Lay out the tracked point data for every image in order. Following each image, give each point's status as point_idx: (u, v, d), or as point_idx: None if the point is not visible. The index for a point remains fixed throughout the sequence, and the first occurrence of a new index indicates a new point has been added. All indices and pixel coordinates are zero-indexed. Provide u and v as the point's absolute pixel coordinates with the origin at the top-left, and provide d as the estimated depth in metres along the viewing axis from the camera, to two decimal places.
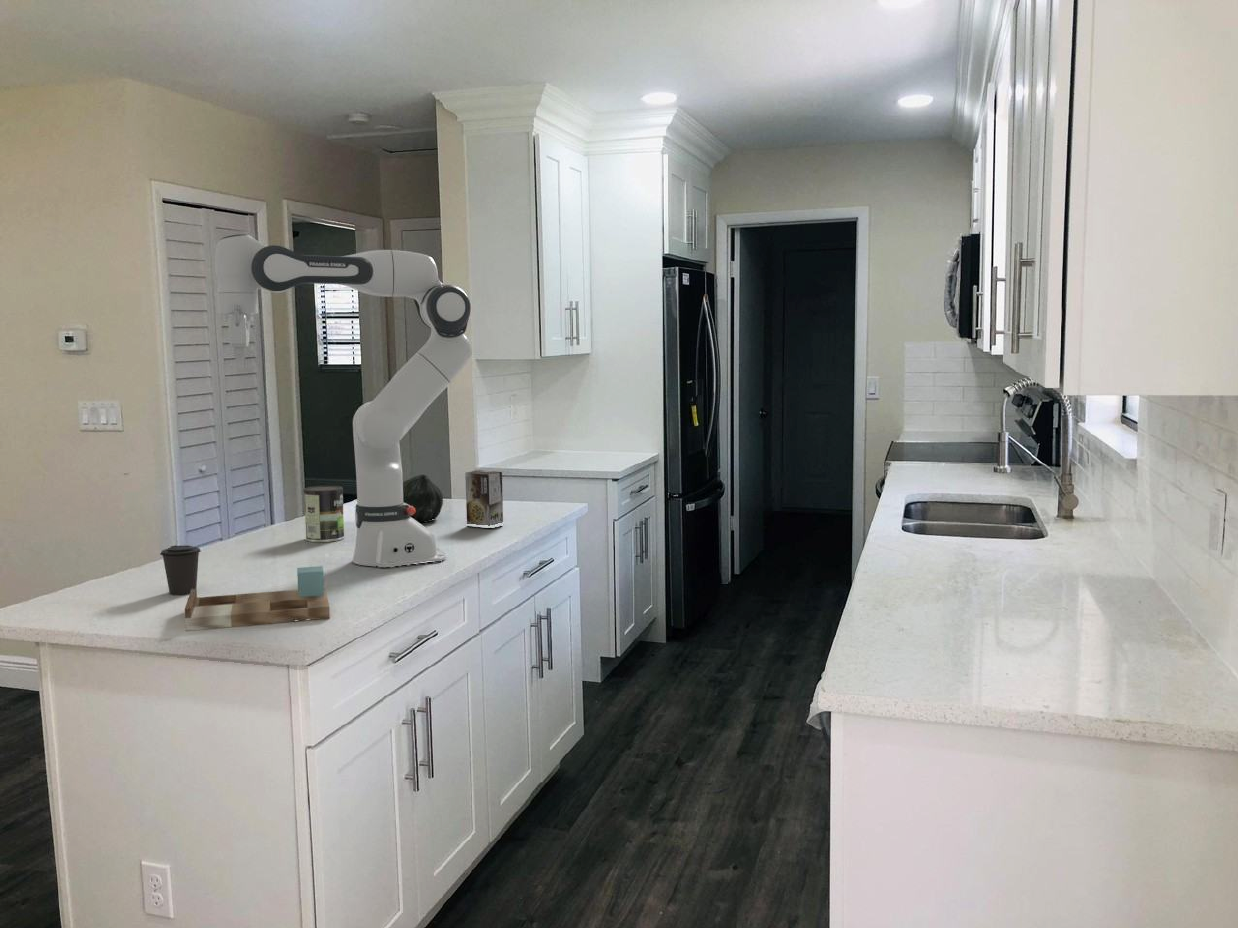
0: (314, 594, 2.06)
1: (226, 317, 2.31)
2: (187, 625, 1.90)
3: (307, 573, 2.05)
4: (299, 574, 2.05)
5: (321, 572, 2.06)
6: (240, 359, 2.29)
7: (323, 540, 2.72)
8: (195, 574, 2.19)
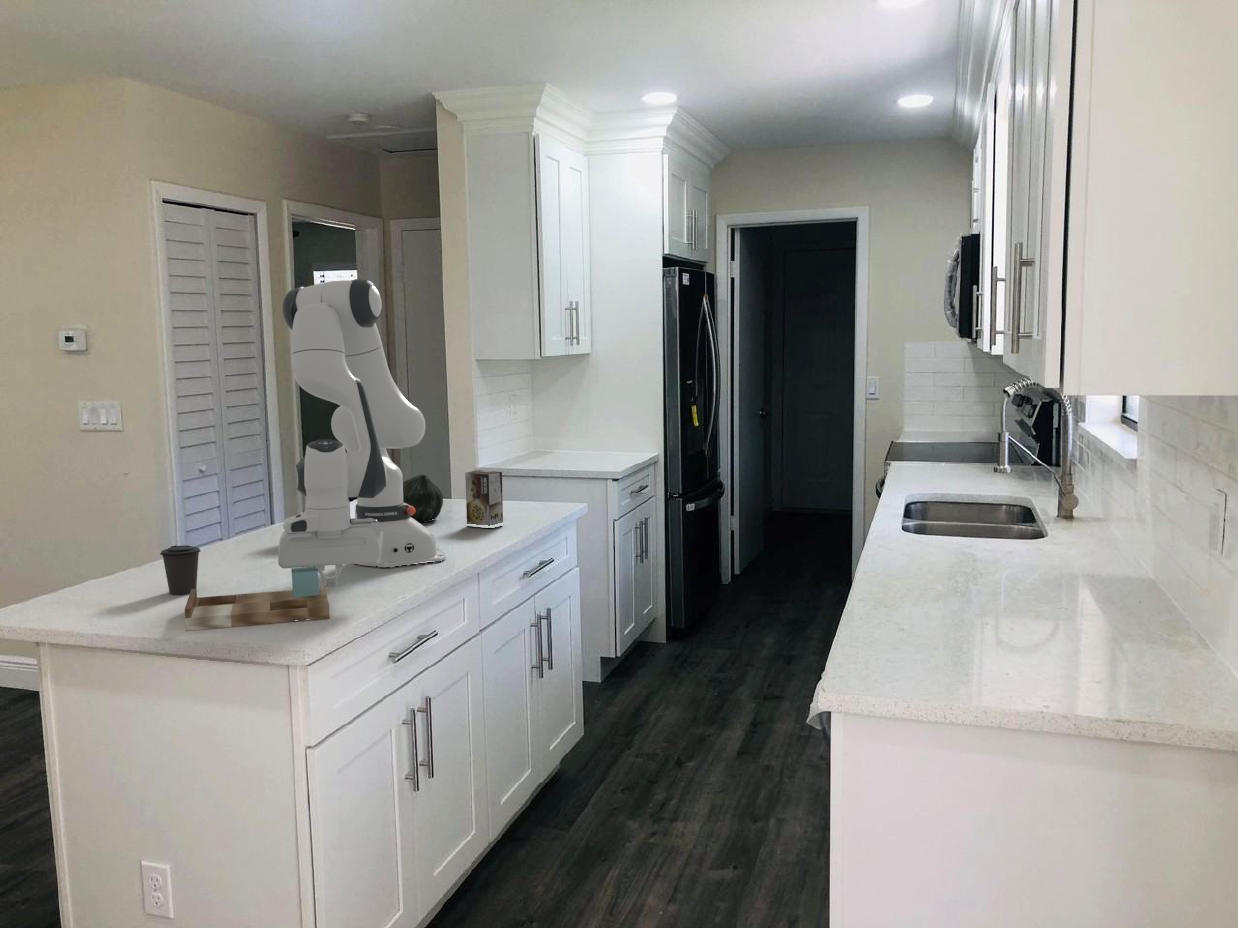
0: (309, 594, 2.06)
1: (338, 533, 2.06)
2: (187, 625, 1.90)
3: (301, 573, 2.05)
4: (293, 575, 2.04)
5: (315, 572, 2.06)
6: None
7: None
8: (195, 574, 2.19)
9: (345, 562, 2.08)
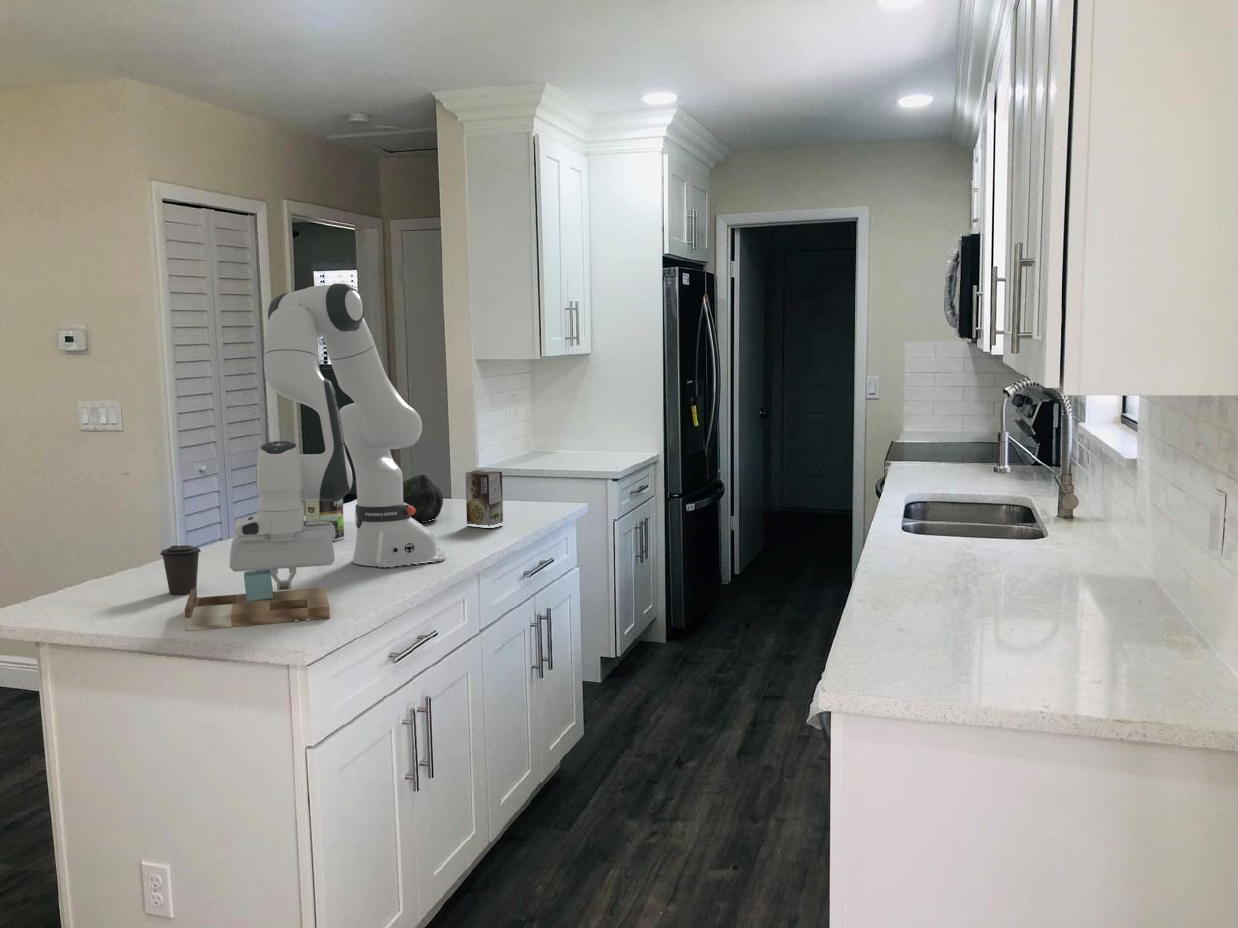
0: (262, 597, 2.03)
1: (291, 536, 2.03)
2: (187, 625, 1.90)
3: (254, 577, 2.02)
4: (245, 578, 2.01)
5: (268, 575, 2.03)
6: None
7: None
8: (195, 574, 2.19)
9: (298, 565, 2.05)
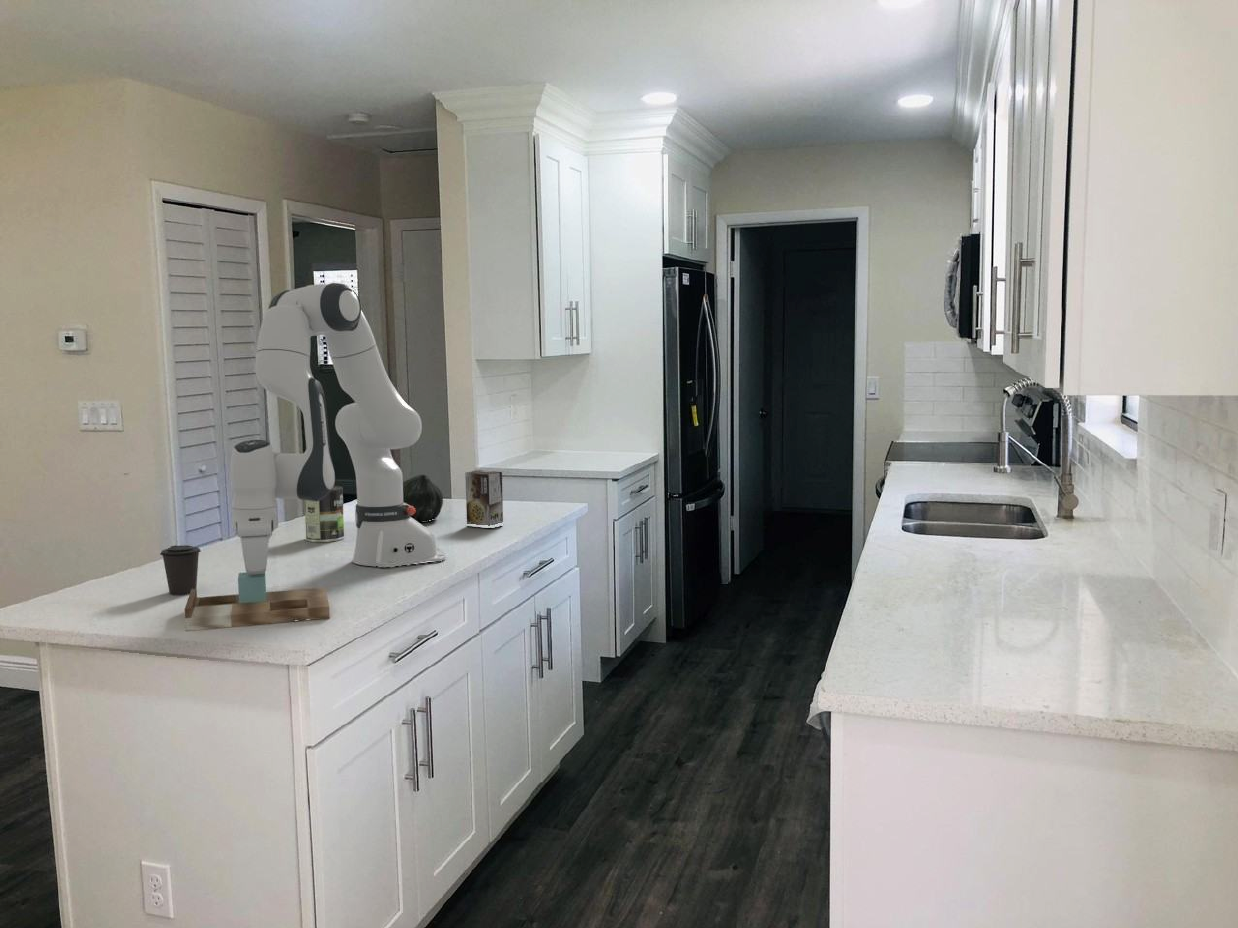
0: (255, 600, 2.02)
1: None
2: (187, 625, 1.90)
3: (248, 579, 2.01)
4: (239, 580, 2.00)
5: (262, 577, 2.02)
6: None
7: (323, 540, 2.72)
8: (195, 574, 2.19)
9: None
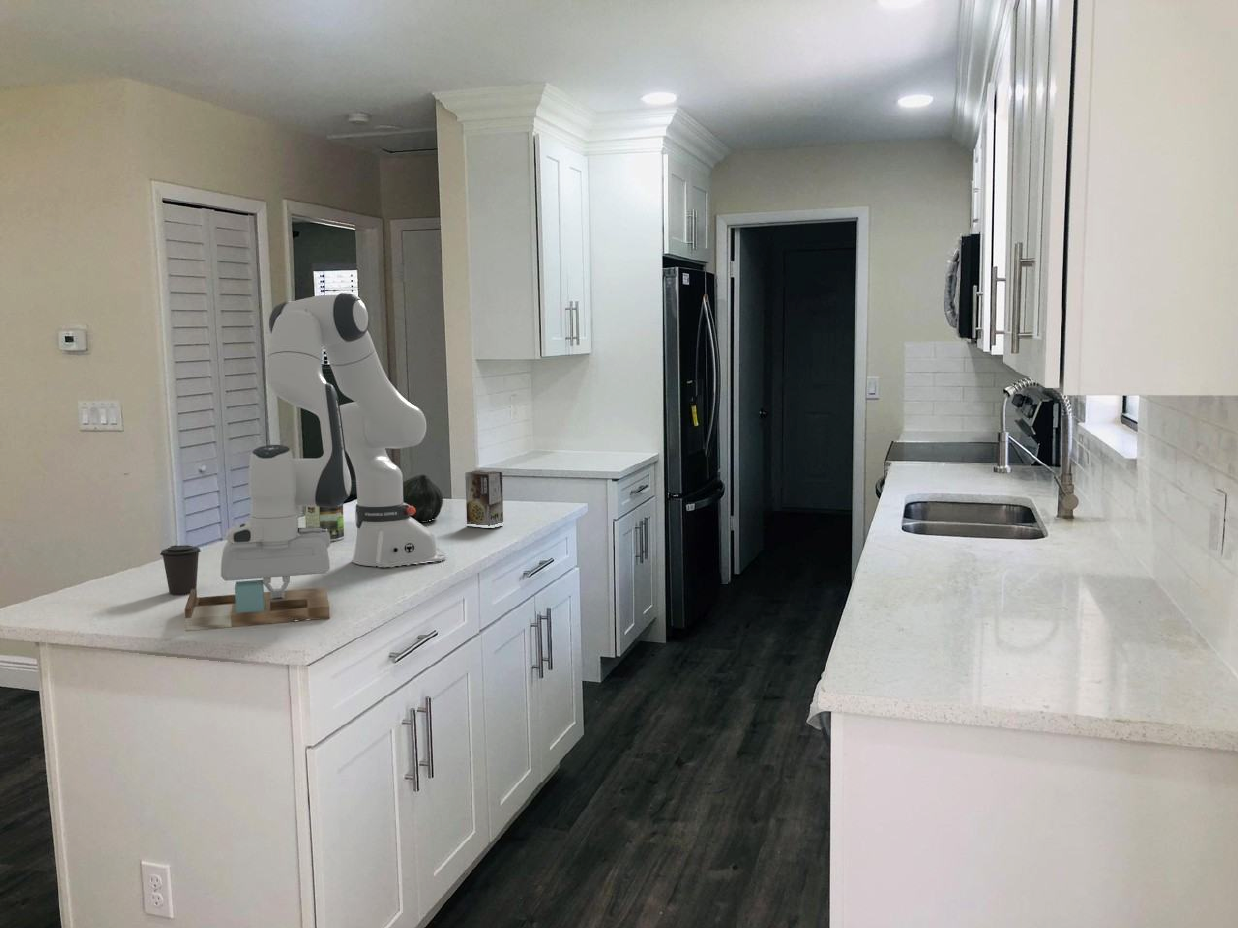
0: (253, 610, 1.94)
1: (285, 543, 1.96)
2: (187, 625, 1.90)
3: (245, 587, 1.94)
4: (236, 588, 1.93)
5: (260, 586, 1.94)
6: None
7: None
8: (195, 574, 2.19)
9: (292, 574, 1.98)
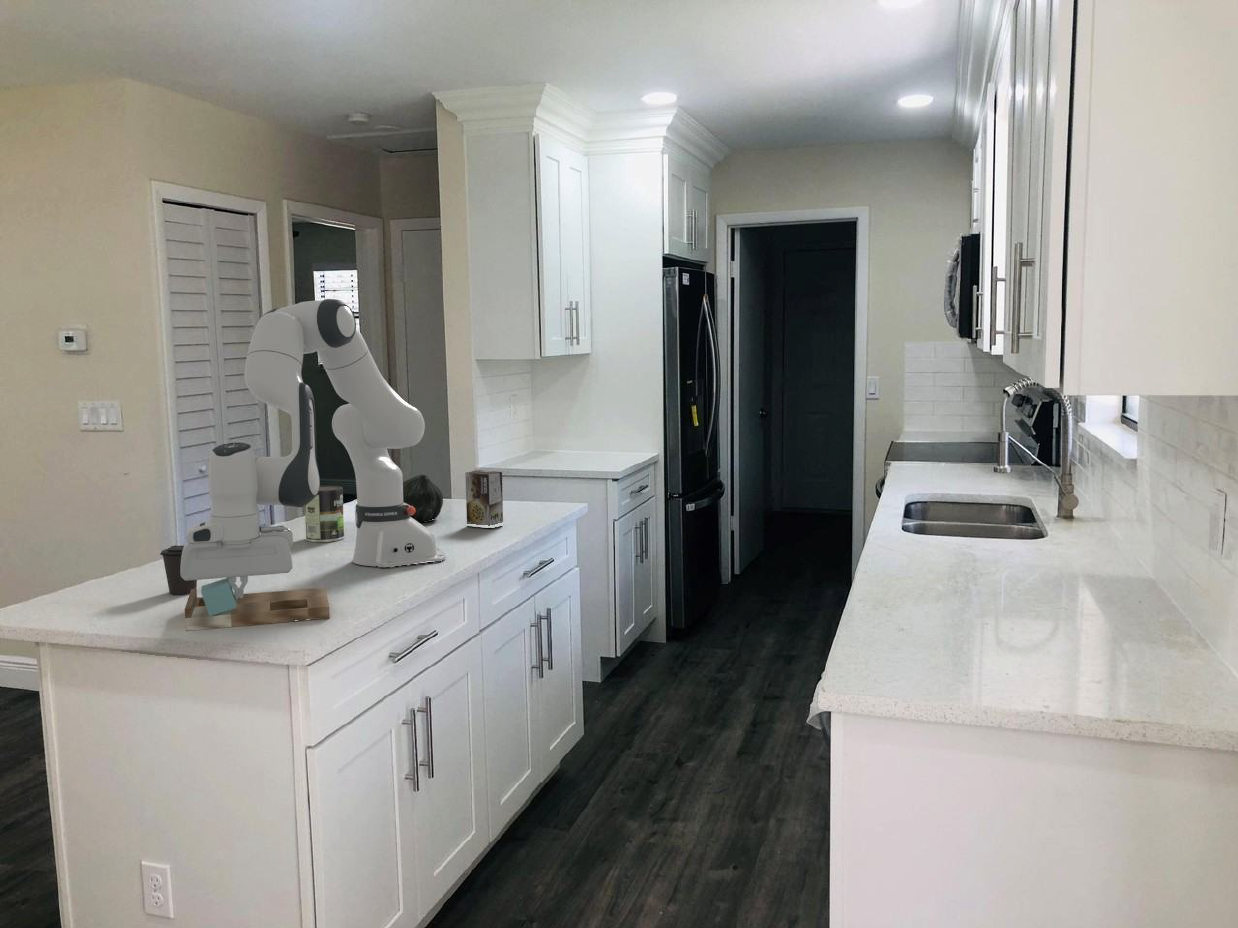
0: (225, 609, 1.92)
1: (246, 543, 1.93)
2: (187, 625, 1.90)
3: (211, 589, 1.91)
4: (203, 593, 1.90)
5: (226, 585, 1.92)
6: None
7: (323, 540, 2.72)
8: None
9: (254, 573, 1.95)
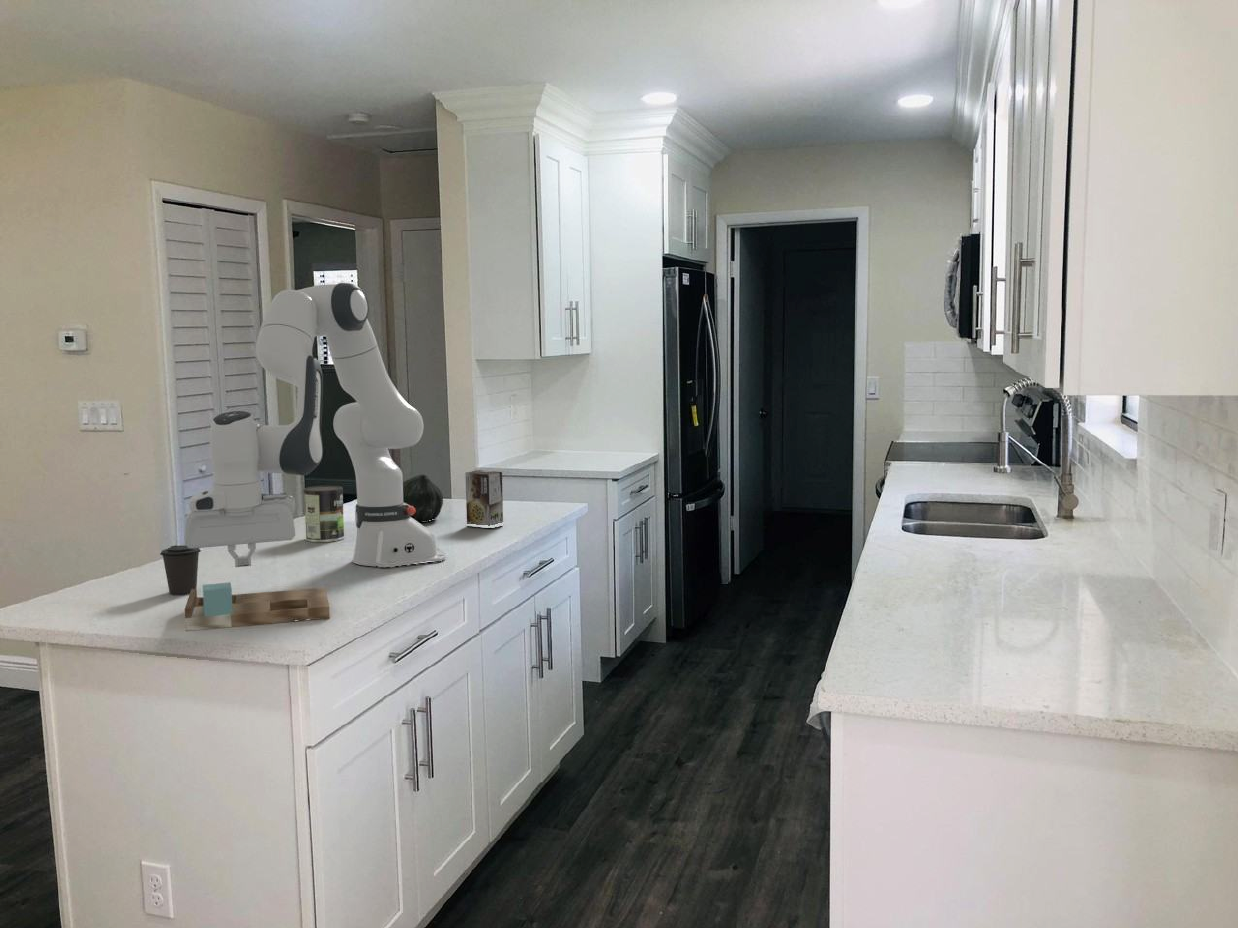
0: (221, 613, 1.92)
1: (249, 510, 1.94)
2: (187, 625, 1.90)
3: (213, 590, 1.91)
4: (205, 592, 1.91)
5: (229, 589, 1.92)
6: None
7: (323, 540, 2.72)
8: (195, 574, 2.19)
9: (257, 541, 1.96)
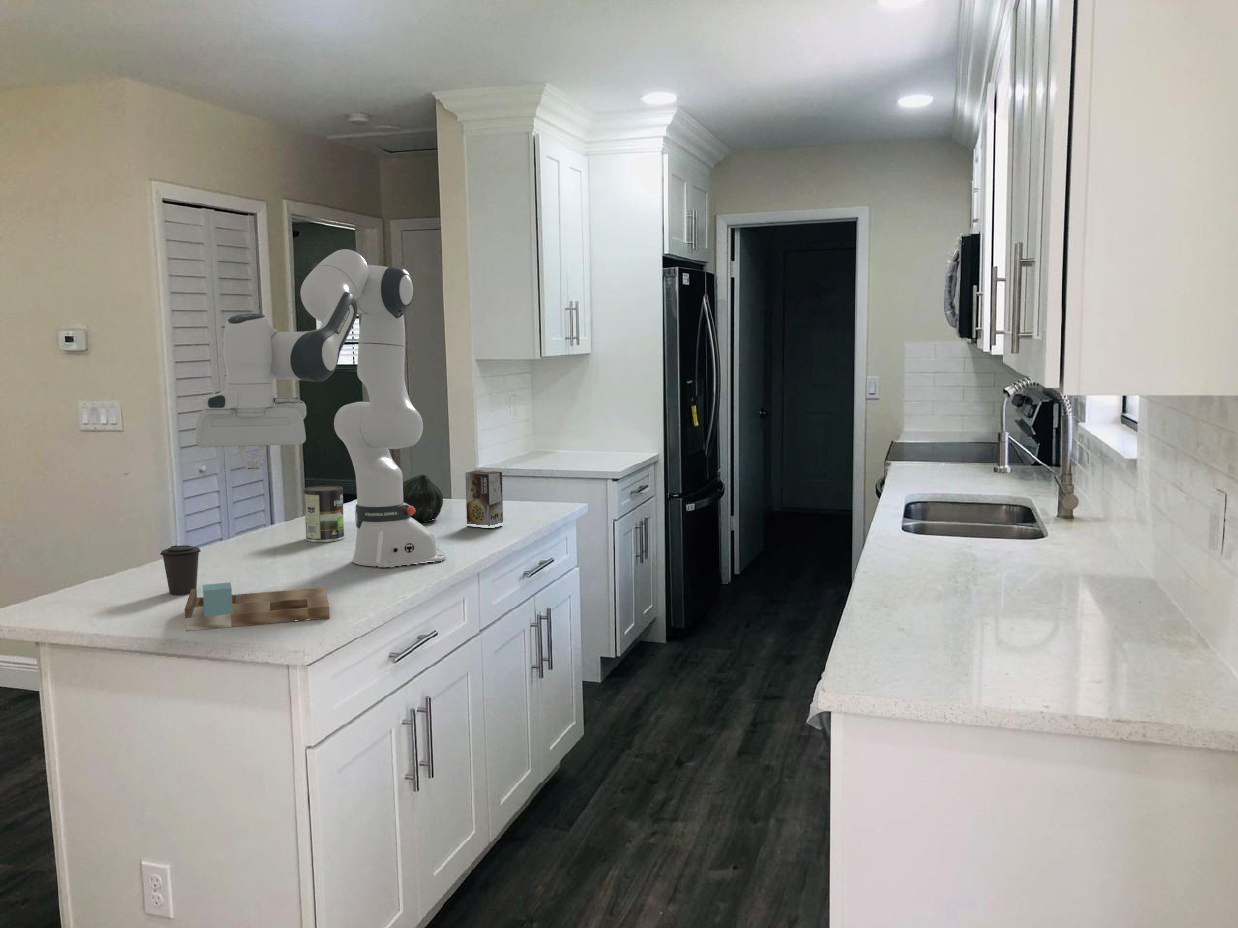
0: (221, 613, 1.92)
1: (260, 411, 1.95)
2: (187, 625, 1.90)
3: (213, 590, 1.91)
4: (205, 592, 1.91)
5: (229, 589, 1.92)
6: None
7: (323, 540, 2.72)
8: (195, 574, 2.19)
9: (268, 443, 1.97)
